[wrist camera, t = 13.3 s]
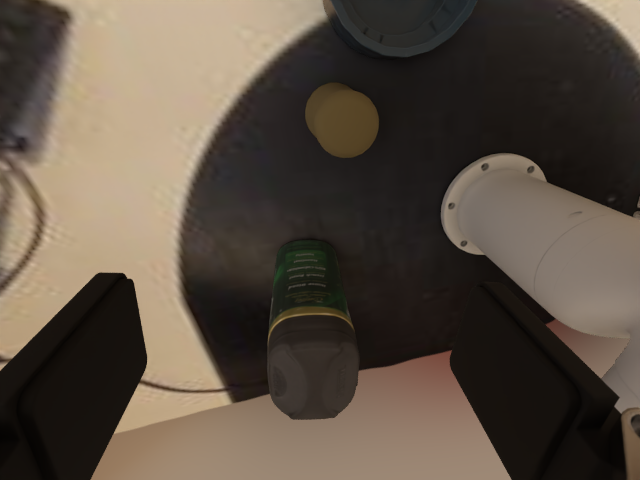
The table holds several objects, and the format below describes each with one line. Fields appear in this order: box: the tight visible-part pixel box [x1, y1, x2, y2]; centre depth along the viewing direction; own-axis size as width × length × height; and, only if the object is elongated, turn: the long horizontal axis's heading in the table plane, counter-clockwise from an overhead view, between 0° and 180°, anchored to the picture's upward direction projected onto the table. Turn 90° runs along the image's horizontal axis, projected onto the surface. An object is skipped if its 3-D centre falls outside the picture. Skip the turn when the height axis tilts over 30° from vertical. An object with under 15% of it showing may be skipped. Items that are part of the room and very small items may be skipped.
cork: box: [305, 83, 379, 158], centre depth 31 cm, size 6×6×11 cm
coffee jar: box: [267, 240, 360, 420], centre depth 36 cm, size 10×8×19 cm
